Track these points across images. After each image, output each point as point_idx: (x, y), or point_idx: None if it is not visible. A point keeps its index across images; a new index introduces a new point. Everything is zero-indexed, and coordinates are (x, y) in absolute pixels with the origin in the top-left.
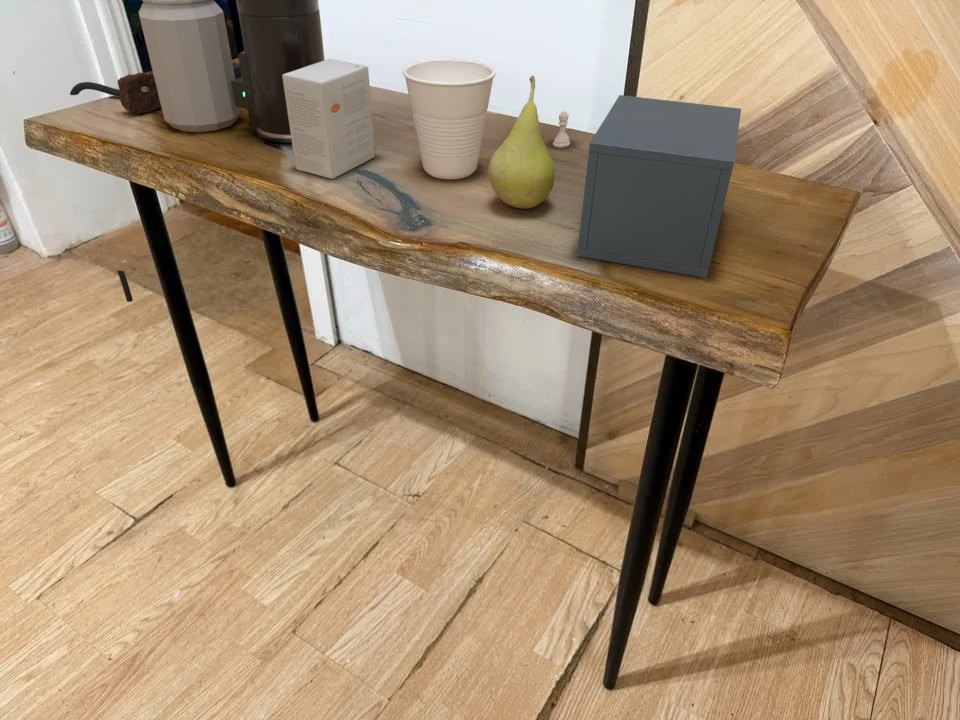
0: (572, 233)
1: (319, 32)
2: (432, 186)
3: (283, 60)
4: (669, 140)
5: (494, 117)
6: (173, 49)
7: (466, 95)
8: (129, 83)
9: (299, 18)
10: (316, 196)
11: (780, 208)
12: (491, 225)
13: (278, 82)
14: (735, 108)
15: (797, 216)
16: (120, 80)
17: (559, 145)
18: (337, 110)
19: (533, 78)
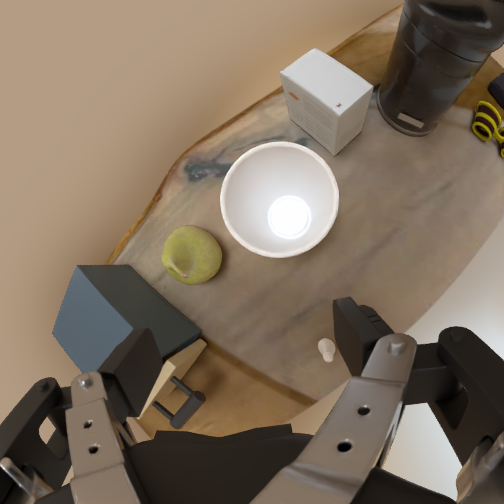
0: (153, 275)
1: (430, 83)
2: None
3: (391, 59)
4: (73, 320)
5: (422, 305)
6: None
7: (229, 208)
8: None
9: (409, 51)
10: (260, 108)
11: (164, 421)
12: (177, 223)
13: (387, 66)
14: None
15: (153, 420)
16: None
17: (319, 342)
18: (296, 99)
19: (182, 275)
